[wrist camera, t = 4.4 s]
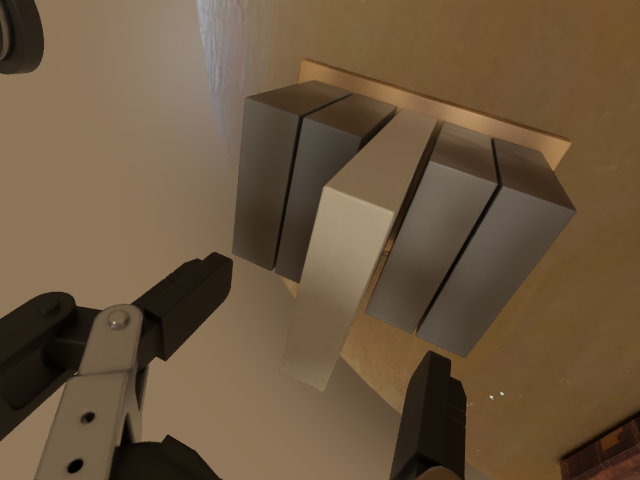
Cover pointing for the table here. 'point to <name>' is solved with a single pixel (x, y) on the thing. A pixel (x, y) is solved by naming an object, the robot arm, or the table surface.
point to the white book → (351, 244)
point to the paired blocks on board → (419, 206)
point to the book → (607, 457)
